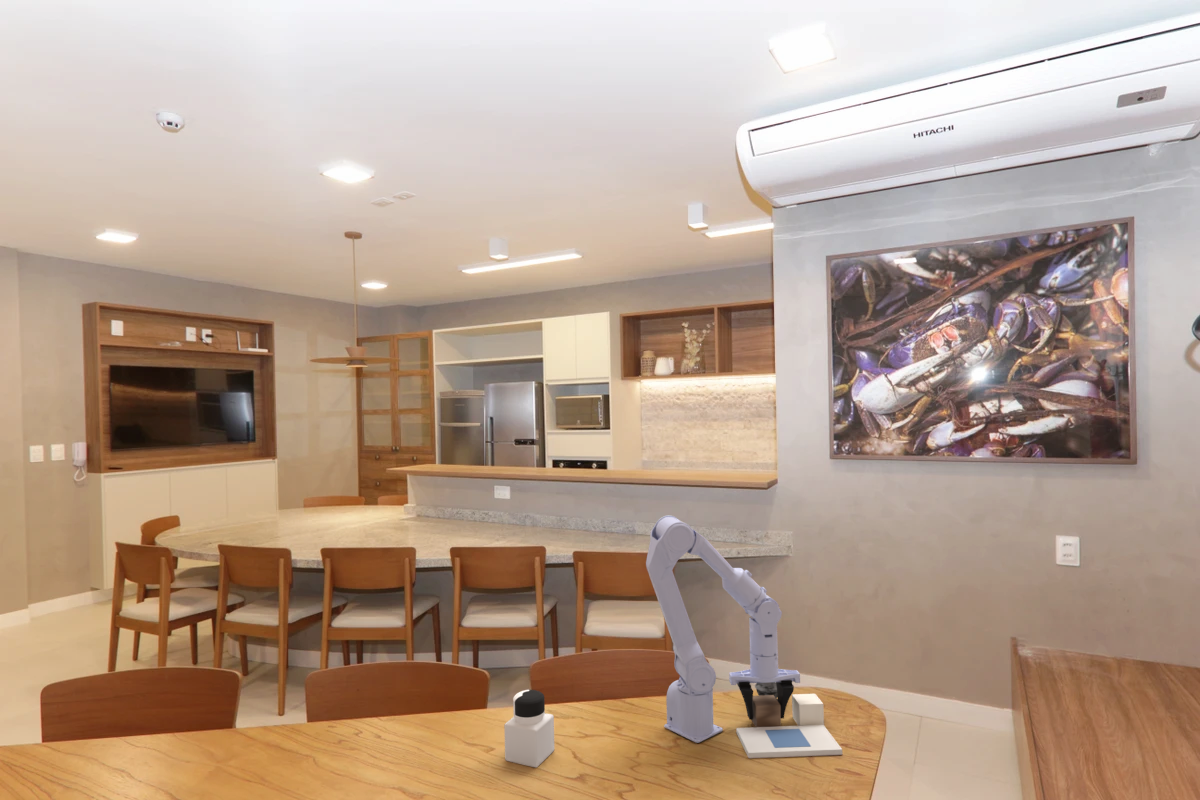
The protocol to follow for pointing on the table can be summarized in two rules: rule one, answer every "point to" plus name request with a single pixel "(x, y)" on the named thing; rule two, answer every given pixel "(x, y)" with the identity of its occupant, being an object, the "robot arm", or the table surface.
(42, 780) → the table surface
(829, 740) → the board
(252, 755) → the table surface
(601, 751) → the table surface
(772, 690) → the grey tall round piece
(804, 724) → the cream block
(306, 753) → the table surface
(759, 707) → the walnut block
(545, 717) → the medicine bottle
